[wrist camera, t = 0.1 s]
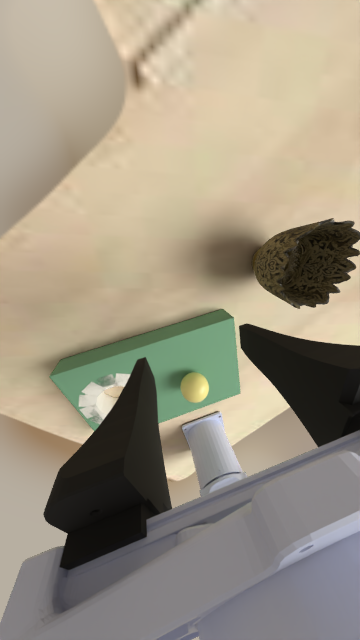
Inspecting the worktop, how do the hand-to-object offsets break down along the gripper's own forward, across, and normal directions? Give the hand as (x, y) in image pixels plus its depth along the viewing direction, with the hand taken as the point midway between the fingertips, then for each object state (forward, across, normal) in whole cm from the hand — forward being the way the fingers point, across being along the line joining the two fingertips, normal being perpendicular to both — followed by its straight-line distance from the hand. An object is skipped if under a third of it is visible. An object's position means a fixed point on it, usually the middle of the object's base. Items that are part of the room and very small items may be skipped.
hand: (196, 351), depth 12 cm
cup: (+10, -13, -2) cm, 16 cm away
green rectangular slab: (+10, +4, +10) cm, 15 cm away
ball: (+5, 0, +10) cm, 11 cm away
